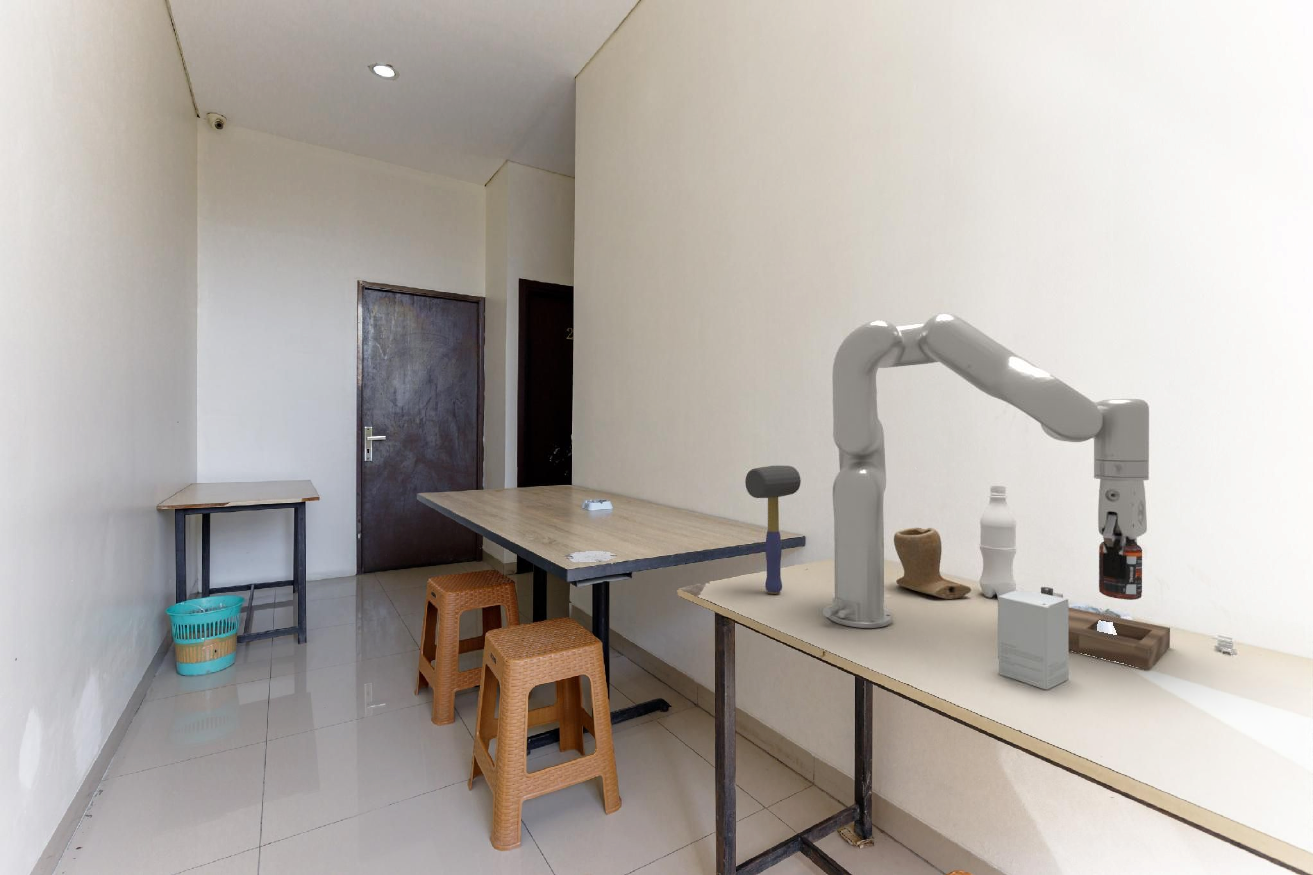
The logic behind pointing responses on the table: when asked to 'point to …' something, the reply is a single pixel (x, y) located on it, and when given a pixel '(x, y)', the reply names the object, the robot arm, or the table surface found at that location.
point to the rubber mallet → (773, 512)
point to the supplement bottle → (1133, 583)
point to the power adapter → (1225, 644)
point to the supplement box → (1033, 638)
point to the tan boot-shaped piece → (924, 564)
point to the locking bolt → (1050, 592)
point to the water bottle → (997, 545)
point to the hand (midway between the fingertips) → (1120, 572)
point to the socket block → (1117, 639)
